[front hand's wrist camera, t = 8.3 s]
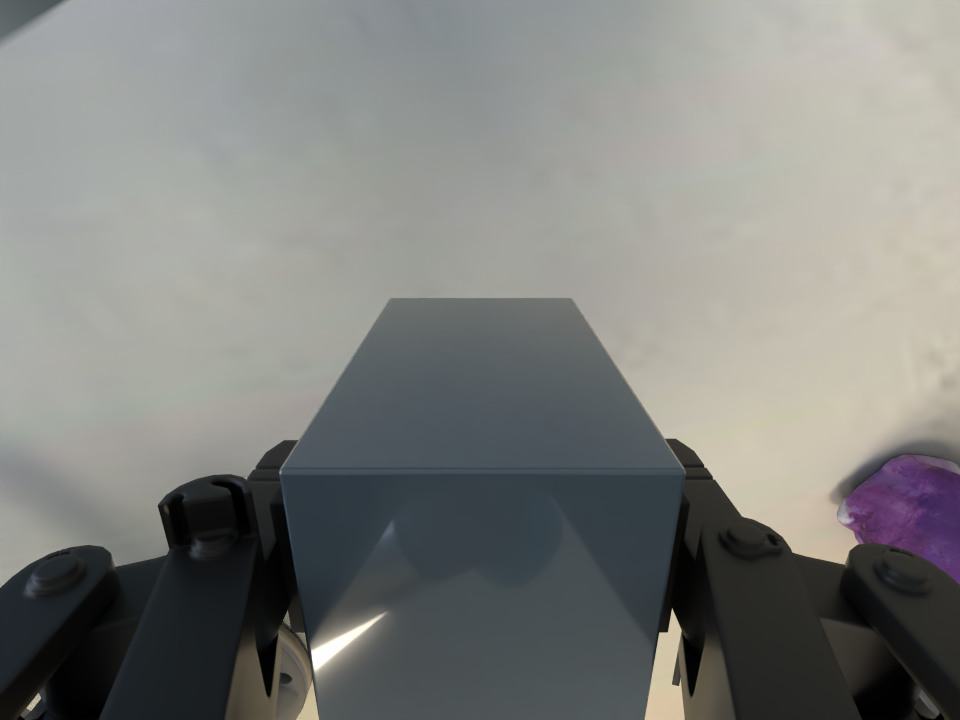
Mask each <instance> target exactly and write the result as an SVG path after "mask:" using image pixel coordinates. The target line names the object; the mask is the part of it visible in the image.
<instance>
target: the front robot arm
mask: <svg viewBox="0 0 960 720" xmlns="http://www.w3.org/2000/svg"><path fill="white" fill-rule="evenodd" d="M665 440H666V442H667V443H668V445H669V446H670V448H671V449H672V451H673V452H674V454H675V455H676V457H677V458H678V460H679V461H680V463H681V464H682V466H683V467H684V469H685V472H686V475H685V481H684V487H683V493H682V499H681V505H680V511H679V517H678V523H677V529H676V535H675V541H674V547H673V552H672V558H671V564H670V570H669V576H668V582H667V588H666V594H665V600H664V606H663V612H662V618H661V624H660V630H659V632H668V628H669V622H670V616H671V611H672V608H673V611H674V613H675V615H676V618H677V620H678V622H679V625H680V627H681V629H682V632H681V638H680V643H679V648H678V654H677V659H676V664H675V669H674V675H673V682H672V685H677V686H679V683H680V678H681V685H682V695H683V705H684V715H685V720H960V585H959V584H958V583H957V582H956V581H955V580H954V579H953V578H951V577H950V576H949V575H948V574H947V573H945V572H944V571H943V570H941V569H940V568H939V567H937V566H936V565H935V564H933V563H932V562H930V561H928V560H926V559H924V558H922V557H920V556H918V555H916V554H914V553H913V552H910V551H908V550H905V549H900V548H899V547H895V546H891V545H885V544H877V543H866V544H859V545H857V546H855V547H854V548H853V549H851V550H850V551H849V555H848V558H847V561H846V564H845V565H843V564H838V563H834V562H829V561H824V560H820V559H815V558H810V557H806V556H802V555H799V554H795V553H792V551H791V548H790V547H789V546H788V544H787V543H786V541H785V540H784V539H783V537H781V536H780V535H779V534H778V533H776V532H775V531H774V530H772V529H771V528H770V527H768V526H766V525H764V524H761V523H759V522H757V521H755V520H752V519H748V518H745V517H742V516H741V515H740V513H739V512H738V511H737V509H736V508H735V507H734V505H733V504H732V502H731V501H730V500H729V498H728V497H727V496H726V494H725V493H724V491H723V490H722V489H721V487H720V486H719V485H718V483H717V482H716V481H715V480H713V476H712V475H711V474H710V472H709V471H708V470H707V468H704V464H703V463H702V461H701V460H700V459H699V457H698V456H697V455H696V453H695V452H694V451H693V450H692V449H690V448H689V447H687V446H686V445H684V444H683V443H681V442H680V441H678V440H677V439H665ZM297 442H298V440H284V441H283V442H281V443H280V444H278V445H277V446H275V447H274V448H272V449H271V450H269V451H268V452H266V453H265V455H264V456H263V458H262V459H261V460H260V462H259V463H258V464H257V466H256V470H253V471H252V473H251V474H250V475H249V477H248V478H247V480H246V479H244V478H243V477H239V476H235V475H231V474H229V475H212V476H208V477H203V478H199V479H196V480H193V481H191V482H188V483H186V484H183V485H181V486H179V487H178V488H176V489H175V490H173V491H172V492H170V493H169V494H167V495H166V496H165V497H164V498H163V500H162V501H161V502H160V503H159V505H158V508H159V512H160V516H161V519H162V523H163V527H164V530H165V534H166V538H167V541H168V545H169V552H168V554H167V555H166V556H162V557H159V558H155V559H150V560H146V561H141V562H137V563H132V564H127V565H123V566H118V567H115V565H114V562H113V559H112V556H111V553H110V552H108V551H107V550H106V549H105V548H103V547H99V546H92V545H85V546H78V547H70V548H67V549H63V550H61V551H57V552H54V553H51V554H49V555H47V556H45V557H43V558H41V559H39V560H37V561H35V562H33V563H31V564H29V565H28V566H26V567H25V568H24V569H22V570H21V571H20V572H18V573H17V574H16V575H14V576H13V577H12V578H11V579H10V580H8V581H7V582H6V583H5V584H4V585H3V586H2V587H1V588H0V720H296V719H297V717H298V715H299V714H300V712H301V710H302V708H303V706H304V703H305V700H306V697H307V694H308V691H309V688H310V685H311V679H312V672H311V666H310V660H309V658H308V655H307V653H306V651H305V649H304V648H303V646H302V645H301V643H300V642H299V641H298V639H297V638H296V637H295V636H294V635H293V634H292V633H291V632H290V631H289V630H288V629H287V628H285V627H284V626H283V625H281V624H282V622H283V619H284V617H285V615H286V612H287V610H288V613H289V618H290V624H291V630H292V632H305V629H304V623H303V617H302V611H301V605H300V599H299V593H298V587H297V580H296V574H295V568H294V562H293V556H292V550H291V544H290V538H289V532H288V526H287V520H286V513H285V507H284V501H283V495H282V489H281V483H280V477H279V471H280V468H281V467H282V465H283V464H284V462H285V461H286V459H287V457H288V456H289V454H290V453H291V451H292V450H293V448H294V447H295V445H296V444H297ZM921 691H923V692H924V693H925V694H926V696H927V697H928V698H929V699H930V700H931V702H932V703H933V704H934V705H935V707H936V708H937V709H938V710H939V712H940V713H939V715H938V716H936V715H935V714H934V713H933V712H932V711H931V710H930V709H929V708H928V707H927V706H926V705H925V703H924V702H923V701H922V700H921V698H920V697H919V695H920V693H921ZM38 693H39V694H40V696H41V700H40V701H39V702H38V703H37V705H36V706H35V707H34V708H33V710H32V711H30V710H28V709H27V706H28V705H29V704H30V703H31V701H32V700H33V699H34V698H35V696H36V695H37V694H38Z"/></svg>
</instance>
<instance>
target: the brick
mask: <svg viewBox="0 0 960 720" xmlns="http://www.w3.org/2000/svg"><path fill="white" fill-rule="evenodd" d="M685 475H686V472H685V469H684V467H683V466H682V464H681V463H680V461H679V460H678V458H677V457H676V455H675V454H674V452H673V451H672V449H671V448H670V446H669V445H668V443H667V442H666V440H665V439H664V437H663V435H662V434H661V432H660V431H659V429H658V428H657V426H656V425H655V423H654V422H653V420H652V419H651V417H650V416H649V414H648V413H647V411H646V410H645V408H644V407H643V405H642V404H641V402H640V401H639V399H638V398H637V396H636V395H635V393H634V392H633V390H632V388H631V387H630V385H629V384H628V382H627V381H626V379H625V378H624V376H623V375H622V373H621V372H620V370H619V369H618V367H617V366H616V364H615V363H614V361H613V360H612V358H611V357H610V355H609V354H608V352H607V351H606V349H605V348H604V346H603V345H602V343H601V341H600V340H599V338H598V337H597V335H596V334H595V332H594V331H593V329H592V328H591V326H590V325H589V323H588V322H587V320H586V319H585V317H584V316H583V314H582V313H581V311H580V310H579V308H578V307H577V305H576V304H575V302H574V301H573V299H571V298H391V299H389V301H388V302H387V304H386V305H385V307H384V309H383V310H382V312H381V313H380V315H379V316H378V318H377V319H376V321H375V322H374V324H373V326H372V327H371V329H370V330H369V332H368V333H367V335H366V336H365V338H364V340H363V341H362V343H361V344H360V346H359V347H358V349H357V350H356V352H355V354H354V355H353V357H352V358H351V360H350V361H349V363H348V364H347V366H346V367H345V369H344V371H343V372H342V374H341V375H340V377H339V378H338V380H337V381H336V383H335V385H334V386H333V388H332V389H331V391H330V392H329V394H328V395H327V397H326V399H325V400H324V402H323V403H322V405H321V406H320V408H319V409H318V411H317V412H316V414H315V416H314V417H313V419H312V420H311V422H310V423H309V425H308V426H307V428H306V430H305V431H304V433H303V434H302V436H301V437H300V439H299V440H298V442H297V444H296V445H295V447H294V448H293V450H292V451H291V453H290V454H289V456H288V457H287V459H286V461H285V462H284V464H283V465H282V467H281V468H280V471H279V477H280V483H281V489H282V495H283V501H284V507H285V513H286V520H287V526H288V532H289V538H290V544H291V550H292V556H293V562H294V568H295V574H296V580H297V587H298V593H299V599H300V605H301V611H302V617H303V623H304V629H305V635H306V641H307V648H308V654H309V660H310V666H311V672H312V678H313V684H314V690H315V696H316V702H317V708H318V715H319V720H644V719H645V713H646V707H647V701H648V695H649V689H650V684H651V678H652V672H653V666H654V660H655V654H656V648H657V642H658V636H659V630H660V624H661V618H662V612H663V606H664V600H665V594H666V588H667V582H668V576H669V570H670V564H671V558H672V552H673V547H674V541H675V535H676V529H677V523H678V517H679V511H680V505H681V499H682V493H683V487H684V481H685Z"/></svg>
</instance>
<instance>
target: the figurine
mask: <svg viewBox="0 0 960 720" xmlns="http://www.w3.org/2000/svg"><path fill="white" fill-rule="evenodd" d="M837 520H838V521H839V522H840V523H841V524H842V525H844V526H845V527H847V528H849V529H851V530H853V531H855V538H856V539H857V541H858V543H859V544H866V543H877V544H885V545H891V546H895V547H899V548H900V549H905V550H908V551H910V552H913V553H914V554H916V555H918V556H920V557H922V558H924V559H926V560H928V561H930V562H932V563H933V564H935V565H936V566H937V567H939V568H940V569H941V570H943V571H944V572H945V573H947V574H948V575H949V576H950V577H951V578H953V579H954V580H955V581H956V582H957V583H958V584H959V585H960V467H959V466H958V465H957V464H956V463H954V462H951V461H948V460H945V459H941V458H936V457H930V456H924V455H912V454H904V455H901V456H899V457H894V458H892V459H891V460H890V461H888V462H887V463H886V464H884V465H883V467H882V469H880V470H879V471H877V472H876V473H875V474H873V475H872V476H870V477H869V478H868V479H866V480H865V481H864V482H863V483H861V484H860V485H859V486H858V487H857V488H856V489H855V490H854V491H853V492H852V493H850V494H849V495H848V496H847V497H846V498H845V499H844V500H843V502H842V503H841V505H840V507H839V509H838V512H837Z"/></svg>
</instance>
